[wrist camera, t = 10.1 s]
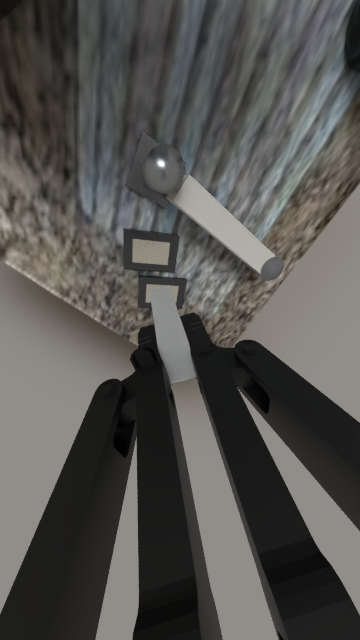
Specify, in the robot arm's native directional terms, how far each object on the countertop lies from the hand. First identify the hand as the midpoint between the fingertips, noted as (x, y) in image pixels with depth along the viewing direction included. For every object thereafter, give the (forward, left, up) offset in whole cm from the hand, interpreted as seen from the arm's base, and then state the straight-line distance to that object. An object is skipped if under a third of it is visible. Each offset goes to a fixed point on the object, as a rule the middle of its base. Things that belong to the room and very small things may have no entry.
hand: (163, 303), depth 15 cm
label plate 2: (+4, -5, -14) cm, 16 cm away
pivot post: (-3, +8, -14) cm, 17 cm away
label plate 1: (0, 0, -14) cm, 14 cm away
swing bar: (+7, +7, -12) cm, 16 cm away
